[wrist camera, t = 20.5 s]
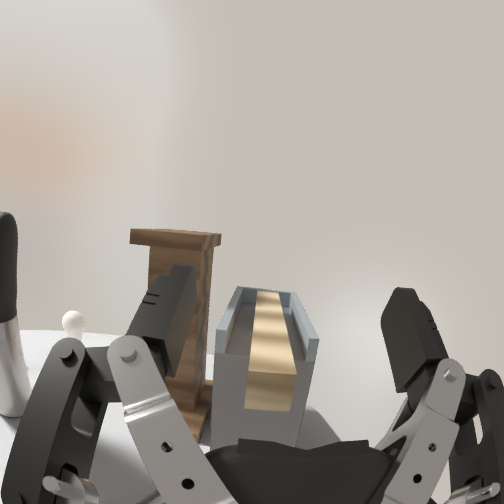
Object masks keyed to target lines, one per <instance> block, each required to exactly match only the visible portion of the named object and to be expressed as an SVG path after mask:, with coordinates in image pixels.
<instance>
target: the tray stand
mask: <svg viewBox="0 0 504 504" xmlns="http://www.w3.org/2000/svg"><path fill="white" fill-rule="evenodd" d="M257 291H267V292H278V293H279V297H280V302H281V306H282V310H283V315H284V319H285V324H286V328H287V332H288V337H289V341H290V346H291V350H292V355H293V359H294V364H295V368H296V373H297V377H296V382H295V387H294V392H293V397H292V402H291V407H290V412H281V411H266V410H255V409H245V408H244V405H245V396H246V387H247V378H248V370H249V361H250V352H251V344H252V335H253V326H254V317H255V308H256V299H257ZM318 343H319V337H318V335H317V333H316V331H315V329H314V327H313V325H312V323H311V321H310V319H309V317H308V315H307V313H306V311H305V309H304V307H303V305H302V303H301V301H300V299H299V297H298V295H297V293H296V292H288V291H277V290H267V289H257V288H248V287H239V286H238V287H237V288H236V290H235V292H234V294H233V297H232V298H231V300H230V302H229V305H228V307H227V309H226V311H225V313H224V315H223V317H222V319H221V321H220V323H219V325H218V327H217V329H216V341H215V356H214V373H213V391H212V412H211V437H210V451H212V450H214V449H217V448H220V447H224V446H228V445H236V444H238V438H242V439H251V440H263V441H274V442H277V443H280V444H284V445H288V446H291V447H295V445H296V442H297V438H298V434H299V430H300V426H301V422H302V418H303V414H304V410H305V406H306V402H307V397H308V393H309V388H310V383H311V378H312V374H313V369H314V364H315V359H316V354H317V348H318Z"/></svg>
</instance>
